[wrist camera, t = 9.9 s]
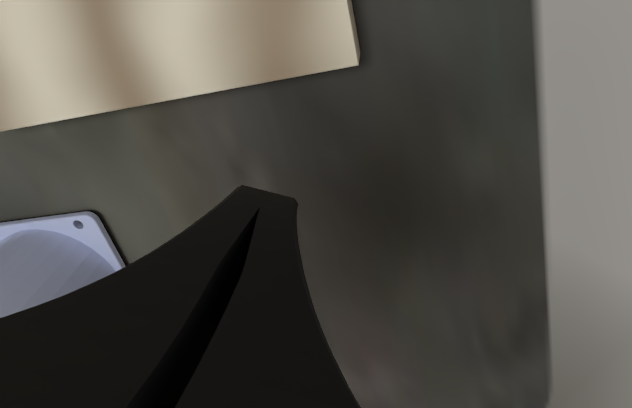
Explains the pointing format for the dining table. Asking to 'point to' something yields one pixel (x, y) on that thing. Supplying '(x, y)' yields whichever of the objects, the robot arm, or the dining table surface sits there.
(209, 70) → the latch board
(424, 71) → the dining table surface
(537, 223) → the dining table surface
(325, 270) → the dining table surface
